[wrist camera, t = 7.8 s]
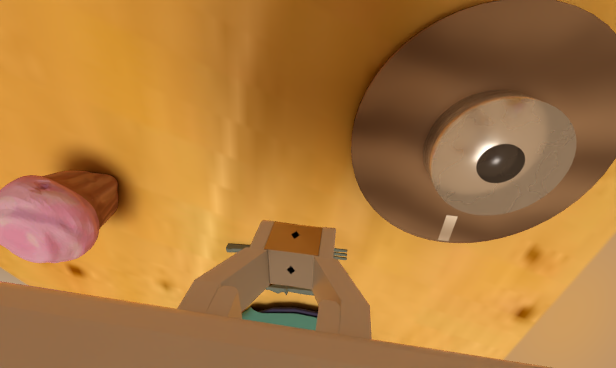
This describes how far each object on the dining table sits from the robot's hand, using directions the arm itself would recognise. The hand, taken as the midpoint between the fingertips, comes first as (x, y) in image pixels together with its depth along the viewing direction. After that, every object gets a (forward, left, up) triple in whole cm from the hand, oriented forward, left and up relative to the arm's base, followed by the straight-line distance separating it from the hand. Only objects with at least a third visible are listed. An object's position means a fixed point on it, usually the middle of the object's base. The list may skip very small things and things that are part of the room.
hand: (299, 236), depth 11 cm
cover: (+1, +13, -14) cm, 19 cm away
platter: (+1, +12, -15) cm, 20 cm away
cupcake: (+10, -26, -16) cm, 32 cm away
